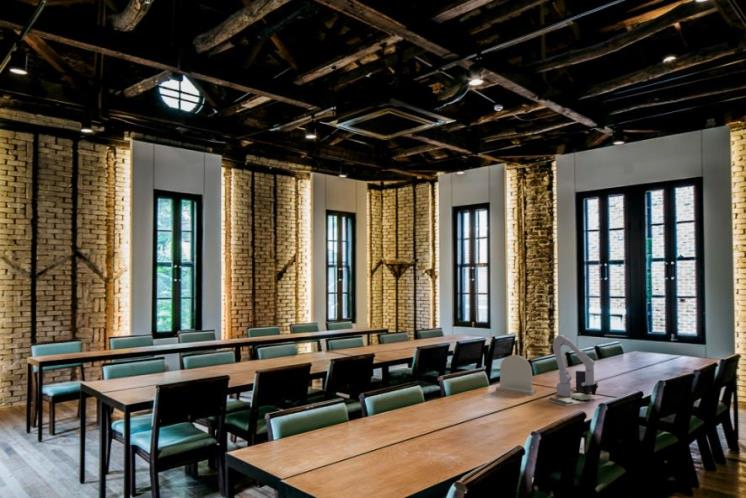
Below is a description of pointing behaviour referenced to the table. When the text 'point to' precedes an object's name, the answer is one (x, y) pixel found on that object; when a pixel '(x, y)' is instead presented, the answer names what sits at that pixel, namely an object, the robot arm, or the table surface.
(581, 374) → the calculator
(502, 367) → the award
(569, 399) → the dock
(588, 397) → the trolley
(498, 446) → the table surface
